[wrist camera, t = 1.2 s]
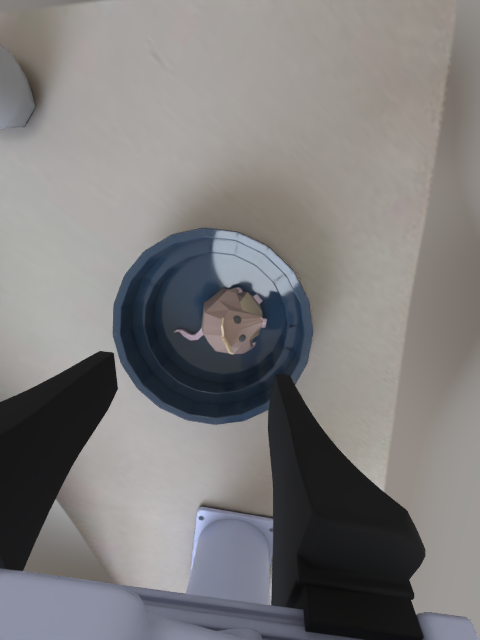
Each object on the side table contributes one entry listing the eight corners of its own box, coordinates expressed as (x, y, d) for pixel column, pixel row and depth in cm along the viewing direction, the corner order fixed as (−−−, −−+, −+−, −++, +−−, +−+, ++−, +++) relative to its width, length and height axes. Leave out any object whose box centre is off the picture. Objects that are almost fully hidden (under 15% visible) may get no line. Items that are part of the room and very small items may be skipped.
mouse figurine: (165, 302, 25) (129, 319, 18) (257, 279, 24) (255, 288, 17) (182, 359, 26) (155, 395, 19) (272, 339, 25) (275, 369, 18)
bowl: (288, 407, 26) (293, 437, 22) (134, 383, 27) (110, 408, 23) (317, 245, 23) (330, 243, 19) (142, 223, 24) (115, 216, 19)
